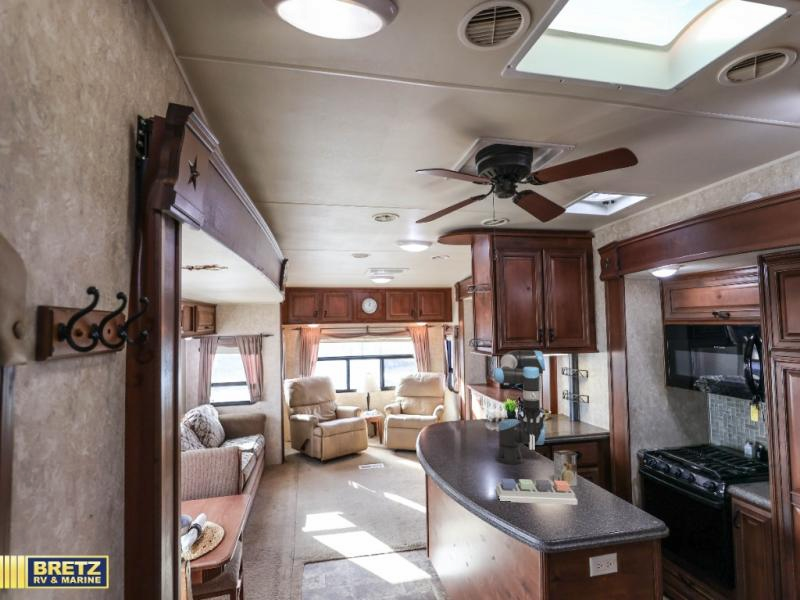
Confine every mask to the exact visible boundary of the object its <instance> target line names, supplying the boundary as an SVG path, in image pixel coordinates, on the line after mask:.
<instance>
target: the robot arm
mask: <svg viewBox="0 0 800 600" xmlns="http://www.w3.org/2000/svg"><path fill="white" fill-rule="evenodd" d="M545 371H546V366H545V358H544V354H543V352H542V351H541V350H524V349H523V350H519V349H517V350H511V351H508V352H506V353H504V354H503V355H502V357H501V358H500V367H496V368H494V371H493V380H494V382H495V383H499V384H518V385H519V384H521V385H522V386H523V387H522V388H523V389H522V391H523V393H522V394H523V395H522V397H523V398H522V399H523V403H522V406H523V407H522V410H521V412H518V413H517V416H518V418H519V420H518V419H515V418H509V419H508V418H507V419H504V420H503V419H502V420H501V421H499V423H498V447H497V450H496V455H495V461H496V462H498V463H502V464H508V465H517V464H521V463H522V462H523V456H522V452H521V449H520V444H524V445H525V444H526V445H528V449H529V450H530V451H531V450H535V448H536V447H535V446H537V445H538V446H542V445H544V444H545V440H546V430H547V429H546V428H547V424H545V423H544V419H546V414H545V413H544V412H542V411H541V376H542V375H543V374H544V373H543V372H545Z"/></svg>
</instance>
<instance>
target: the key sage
mask: <svg viewBox="0 0 800 600" xmlns="http://www.w3.org/2000/svg"><path fill="white" fill-rule="evenodd" d="M518 484H519V486H520V487H521V489H531V490H534V485H535V484H534V482H533V480H532V479H528V478H527V479H523V478H521V479H518Z"/></svg>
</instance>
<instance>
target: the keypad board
mask: <svg viewBox="0 0 800 600" xmlns="http://www.w3.org/2000/svg"><path fill="white" fill-rule="evenodd" d="M551 485H552V490H539V489H538V487H537V486H536V484H534V490H531V489H521V487H520V486H519V483H516V489H505V488H503V486H502V482H498V483H497V485H495V491H497V492H496V495H497V497H498V496H499V497H498V499H500V500H499V502H500V501H511V502H510V503H525V504H526V503H527V504H529V503H530V504H549V505H551V504H552V505H553V504H554V505H573V506H574V505H575V506H576V505H577V506H578V503H579V502H578V499H577V497H576V494H575V492H574V491H573V490H572V488H571V487H570V491H557V490H556V488H555V487H554V484H551Z"/></svg>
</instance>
